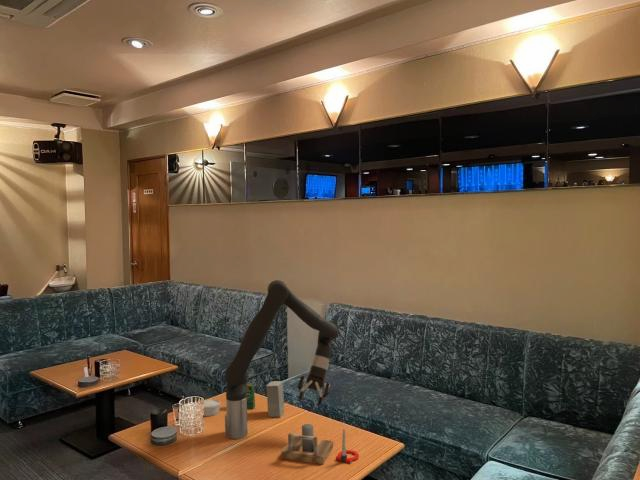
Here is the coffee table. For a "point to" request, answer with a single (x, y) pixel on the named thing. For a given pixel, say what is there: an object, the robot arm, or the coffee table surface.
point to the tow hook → (342, 454)
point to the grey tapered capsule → (307, 444)
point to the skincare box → (275, 398)
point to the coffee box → (250, 396)
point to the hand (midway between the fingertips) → (309, 403)
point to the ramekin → (211, 407)
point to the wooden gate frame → (317, 456)
